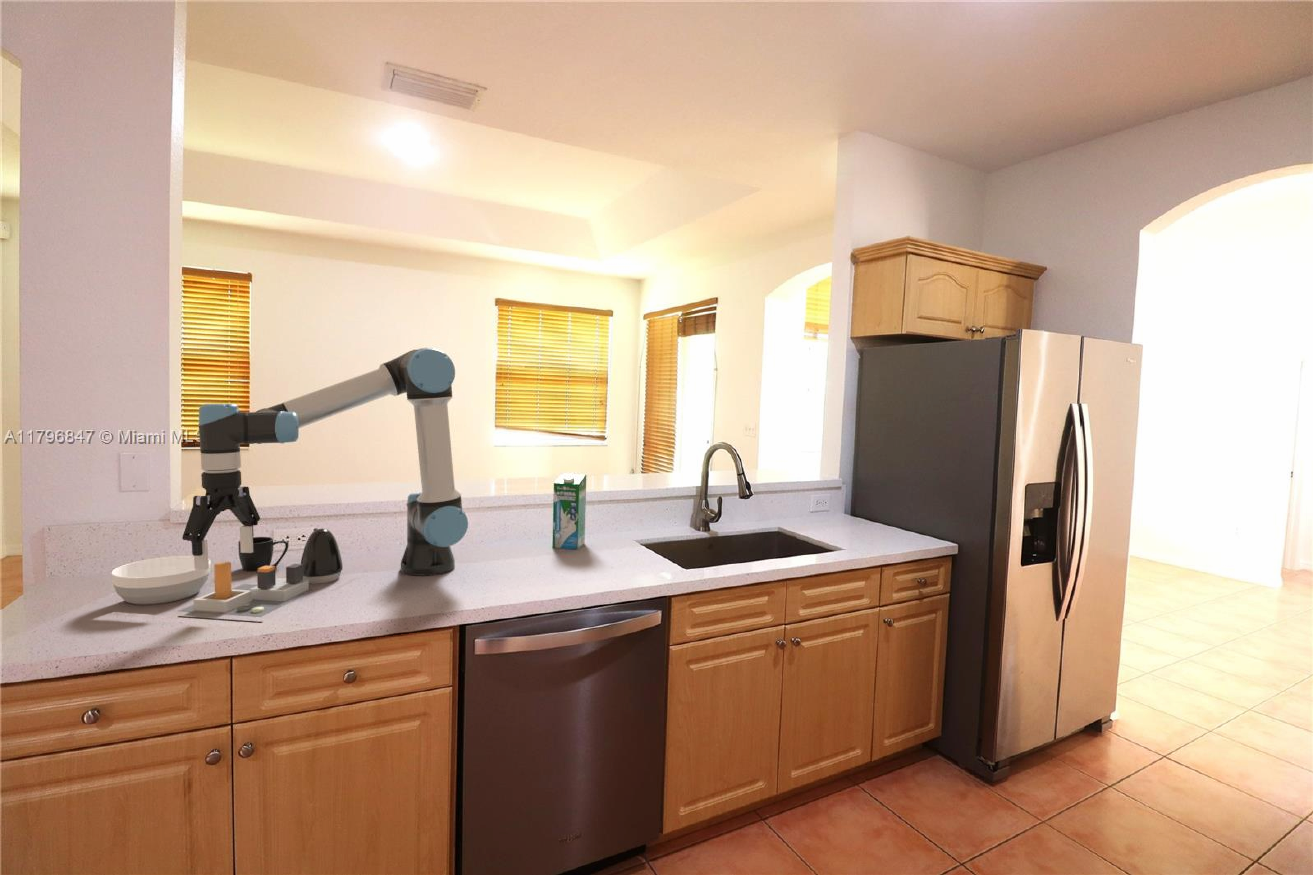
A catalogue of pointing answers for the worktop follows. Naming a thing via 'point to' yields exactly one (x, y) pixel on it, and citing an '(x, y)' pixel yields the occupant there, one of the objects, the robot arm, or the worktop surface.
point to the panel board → (250, 600)
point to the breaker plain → (294, 573)
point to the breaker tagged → (266, 577)
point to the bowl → (159, 580)
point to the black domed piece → (321, 557)
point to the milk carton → (569, 511)
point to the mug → (260, 554)
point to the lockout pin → (223, 581)
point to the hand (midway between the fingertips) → (225, 560)
